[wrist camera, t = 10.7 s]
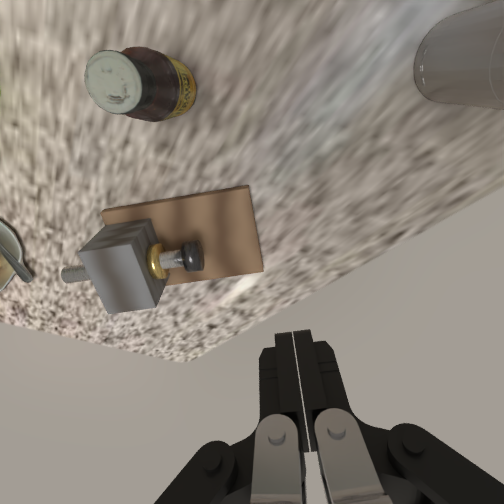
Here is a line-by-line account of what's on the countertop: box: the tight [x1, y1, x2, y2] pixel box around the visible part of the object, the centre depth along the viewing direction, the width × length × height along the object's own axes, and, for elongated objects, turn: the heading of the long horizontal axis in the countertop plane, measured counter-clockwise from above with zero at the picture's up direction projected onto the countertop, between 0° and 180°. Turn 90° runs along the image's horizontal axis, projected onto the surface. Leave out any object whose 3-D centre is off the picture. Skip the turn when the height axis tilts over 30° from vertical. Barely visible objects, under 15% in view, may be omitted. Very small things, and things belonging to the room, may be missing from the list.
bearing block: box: [78, 185, 264, 314], centre depth 45 cm, size 22×14×10 cm, turn 100°
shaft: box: [61, 240, 205, 283], centre depth 45 cm, size 20×5×5 cm, turn 100°
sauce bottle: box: [85, 47, 196, 122], centre depth 31 cm, size 7×6×20 cm
